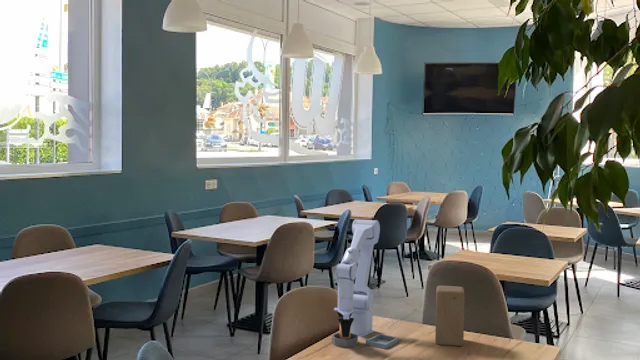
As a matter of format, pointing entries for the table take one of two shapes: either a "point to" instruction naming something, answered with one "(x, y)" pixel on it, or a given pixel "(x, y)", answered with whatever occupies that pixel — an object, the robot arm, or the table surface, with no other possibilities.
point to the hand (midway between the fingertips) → (345, 333)
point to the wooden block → (449, 315)
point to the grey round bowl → (342, 342)
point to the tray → (382, 341)
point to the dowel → (345, 337)
